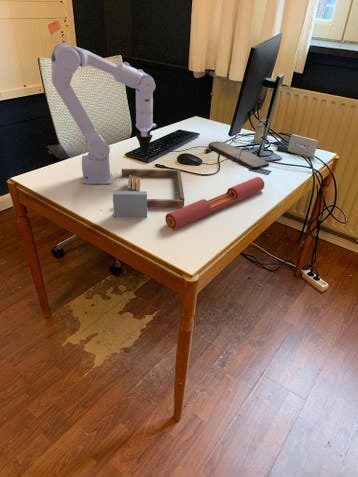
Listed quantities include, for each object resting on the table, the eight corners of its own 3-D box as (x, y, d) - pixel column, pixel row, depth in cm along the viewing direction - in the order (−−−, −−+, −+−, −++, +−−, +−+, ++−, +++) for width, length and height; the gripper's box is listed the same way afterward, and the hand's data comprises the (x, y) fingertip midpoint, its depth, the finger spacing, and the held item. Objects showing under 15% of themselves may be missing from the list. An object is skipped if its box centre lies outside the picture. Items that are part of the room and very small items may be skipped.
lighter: (257, 143, 168) (261, 122, 162) (251, 141, 170) (254, 120, 164) (266, 140, 172) (270, 119, 166) (259, 138, 174) (263, 117, 169)
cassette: (314, 157, 157) (318, 140, 153) (312, 158, 156) (317, 141, 151) (288, 150, 163) (292, 133, 158) (286, 151, 162) (290, 134, 157)
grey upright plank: (147, 217, 109) (146, 194, 105) (114, 217, 109) (112, 194, 104) (147, 214, 111) (147, 191, 106) (114, 214, 110) (113, 191, 106)
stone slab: (223, 139, 166) (271, 158, 145) (222, 145, 167) (270, 166, 147) (205, 143, 160) (254, 164, 140) (205, 150, 162) (253, 171, 142)
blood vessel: (252, 187, 130) (254, 174, 128) (263, 192, 128) (265, 179, 125) (164, 225, 107) (165, 210, 104) (175, 232, 104) (176, 218, 101)
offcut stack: (127, 197, 119) (127, 187, 117) (129, 184, 128) (129, 174, 126) (139, 197, 120) (139, 188, 118) (140, 184, 128) (139, 175, 126)
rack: (116, 207, 113) (116, 199, 112) (122, 174, 133) (121, 167, 131) (184, 208, 115) (184, 199, 113) (179, 175, 135) (179, 168, 133)
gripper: (156, 118, 116) (155, 157, 124) (155, 106, 128) (155, 142, 136) (134, 117, 116) (135, 156, 124) (136, 105, 128) (137, 142, 136)
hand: (144, 149), depth 130 cm, fingers open, 7 cm apart
